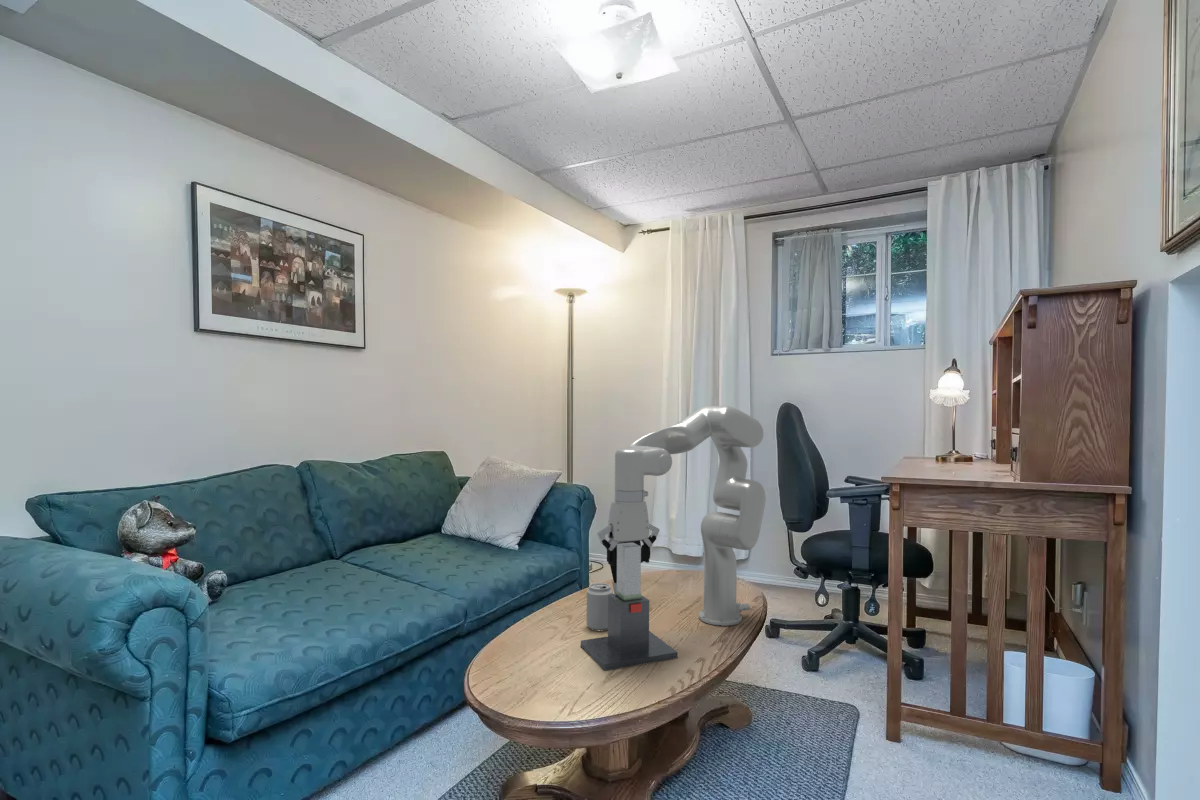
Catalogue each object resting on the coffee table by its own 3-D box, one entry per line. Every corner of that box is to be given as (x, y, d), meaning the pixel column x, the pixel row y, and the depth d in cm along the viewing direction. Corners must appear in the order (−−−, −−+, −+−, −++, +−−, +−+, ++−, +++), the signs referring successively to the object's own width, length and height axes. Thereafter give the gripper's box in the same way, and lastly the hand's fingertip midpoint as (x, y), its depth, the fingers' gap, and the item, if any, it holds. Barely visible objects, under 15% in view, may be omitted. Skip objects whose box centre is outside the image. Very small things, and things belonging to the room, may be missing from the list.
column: (632, 616, 160) (633, 542, 160) (640, 622, 155) (641, 546, 155) (615, 619, 158) (616, 543, 158) (623, 625, 153) (624, 547, 154)
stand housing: (648, 635, 168) (648, 584, 168) (677, 658, 153) (678, 602, 153) (580, 646, 160) (581, 592, 160) (604, 670, 145) (605, 611, 145)
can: (610, 633, 169) (610, 589, 170) (583, 630, 171) (584, 588, 171) (614, 623, 177) (615, 582, 177) (589, 621, 178) (589, 580, 178)
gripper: (652, 493, 164) (651, 556, 163) (592, 496, 157) (592, 562, 157) (665, 496, 157) (665, 563, 157) (604, 500, 150) (603, 570, 150)
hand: (628, 563), depth 157 cm, fingers open, 9 cm apart
